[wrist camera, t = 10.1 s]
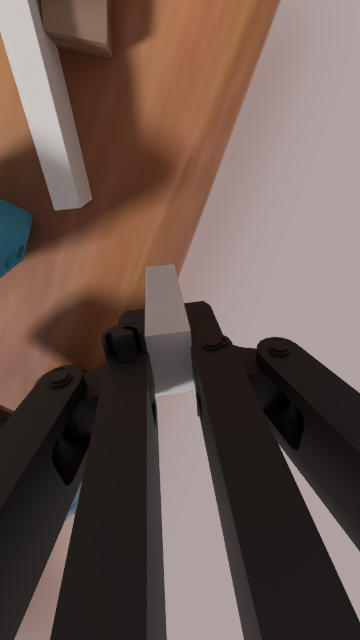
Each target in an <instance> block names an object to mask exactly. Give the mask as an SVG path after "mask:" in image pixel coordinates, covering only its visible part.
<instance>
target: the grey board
mask: <svg viewBox="0 0 360 640" xmlns="http://www.w3.org/2000/svg"><path fill="white" fill-rule="evenodd" d="M0 32H1V35H2V39H3V42H4V45H5V49H6V52H7V55H8V58H9V62H10V65H11V68H12V72H13V75H14V78H15V81H16V85H17V88H18V91H19V95H20V98H21V101H22V105H23V108H24V111H25V114H26V118H27V121H28V124H29V128H30V131H31V134H32V138H33V141H34V144H35V147H36V151H37V154H38V157H39V161H40V164H41V167H42V171H43V174H44V177H45V180H46V184H47V187H48V190H49V194H50V197H51V200H52V204H53V207H54V210H65V209H75V208H81V207H82V206H84V205H85V204H87V203H88V202H89V201H91V200H92V195H91V191H90V187H89V182H88V178H87V174H86V169H85V165H84V161H83V156H82V152H81V148H80V143H79V139H78V135H77V130H76V126H75V122H74V117H73V113H72V109H71V104H70V100H69V96H68V91H67V87H66V83H65V78H64V74H63V70H62V65H61V61H60V57H59V52H58V48H57V47H56V45H55V44H54V43H53V42H52V40H51V39H50V38H49V37H48V35H47V34H46V33H45V32H44V29H43V18H42V7H41V0H0Z"/></svg>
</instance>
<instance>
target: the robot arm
mask: <svg viewBox="0 0 360 640" xmlns="http://www.w3.org/2000/svg"><path fill="white" fill-rule="evenodd" d="M101 341H102V344H103V348H104V351H105V355H106V358H107V359H106V363H105V364H103V365H102V366H100V367H97V368H95V369H92V370H90V371H87V372H84V371H82V369H80V368H79V367H78V366H74V365H65V366H61V367H58V368H55V369H53V370H51V371H49V372H48V373H46V374H44V375H43V376H42V377H40V378H39V379H38V380H37V382H36V383H35V385H34V387H33V389H32V390H31V391H30V393H29V394H28V395H27V396H26V398H25V399H24V400H23V401H22V403H21V404H20V405H19V406H18V408H17V409H16V410H15V411H12V410H10V409H8V408H6V407H4V406H2V405H0V640H14V638H15V636H16V634H17V631H18V629H19V626H20V624H21V622H22V620H23V617H24V615H25V612H26V610H27V608H28V606H29V603H30V601H31V599H32V596H33V594H34V592H35V589H36V587H37V585H38V582H39V580H40V578H41V575H42V573H43V570H44V568H45V566H46V564H47V561H48V559H49V557H50V554H51V552H52V550H53V547H54V545H55V542H56V540H57V538H58V535H59V533H60V531H61V529H62V526H63V524H64V521H65V520H67V519H68V518H69V517H70V516H71V515H72V514H73V513H74V512H75V510H76V513H75V518H74V523H73V528H72V534H71V538H70V543H69V548H68V553H67V558H66V563H65V568H64V573H63V578H62V583H61V588H60V593H59V598H58V603H57V608H56V613H55V618H54V623H53V628H52V633H51V638H50V640H167V637H166V613H165V589H164V567H163V543H162V518H161V495H160V470H159V446H158V422H157V406H156V400H155V395H156V396H163V395H169V394H177V393H184V392H192V391H195V389H196V398H197V412H198V416H200V421H201V426H202V430H203V436H204V441H205V446H206V450H207V456H208V461H209V466H210V471H211V476H212V481H213V485H214V491H215V496H216V501H217V506H218V511H219V516H220V521H221V526H222V530H223V536H224V541H225V546H226V551H227V556H228V561H229V566H230V571H231V576H232V581H233V586H234V591H235V596H236V601H237V606H238V611H239V616H240V621H241V626H242V631H243V636H244V640H360V622H359V619H358V617H357V615H356V613H355V611H354V608H353V606H352V604H351V602H350V600H349V598H348V595H347V593H346V591H345V589H344V587H343V585H342V582H341V580H340V578H339V576H338V573H337V571H336V569H335V567H334V565H333V563H332V560H331V558H330V556H329V554H328V552H327V549H326V547H325V545H324V543H323V541H322V538H321V536H320V534H319V532H318V530H317V528H316V525H315V523H314V521H313V519H312V517H311V515H310V512H309V510H308V508H307V506H306V504H305V501H304V499H303V497H302V495H301V493H300V491H299V488H298V486H297V484H296V482H295V480H294V477H293V475H292V473H291V471H290V469H289V466H288V464H287V462H286V460H285V458H284V456H283V453H282V451H281V449H280V447H279V445H280V446H281V448H282V449H283V450H284V451H285V453H286V454H287V455H288V457H289V458H290V459H291V461H292V462H293V463H294V465H295V466H296V467H297V468H298V470H299V471H300V473H301V474H302V475H303V477H304V478H305V479H306V481H307V482H308V483H309V484H310V486H311V487H312V488H313V490H314V491H315V493H316V494H317V495H318V497H319V498H320V499H321V501H322V502H323V503H324V505H325V506H326V507H327V508H328V510H329V511H330V513H331V514H332V515H333V516H334V518H335V519H336V520H337V522H338V523H339V524H340V526H341V527H342V528H343V530H344V531H345V532H346V534H347V535H348V536H349V538H350V539H351V540H352V542H353V543H354V544H355V546H356V547H357V548H358V550H359V551H360V393H358V392H357V391H356V390H355V389H354V388H352V387H351V386H350V385H348V384H347V383H346V382H344V381H343V380H342V379H341V378H339V377H338V376H337V375H336V374H334V373H333V372H332V371H331V370H329V369H328V368H327V367H325V366H324V365H323V364H321V363H320V362H319V361H318V360H316V359H315V358H314V357H312V356H311V355H310V354H309V353H307V352H306V351H305V350H304V349H302V348H301V347H300V346H298V345H297V344H296V343H294V342H292V341H291V340H288V339H285V338H279V337H271V338H266V339H264V340H261V341H260V342H259V344H258V345H257V349H254V348H243V347H238V346H235V345H233V344H232V342H231V340H230V339H229V338H228V337H226V336H224V335H223V334H222V332H221V329H220V327H219V324H218V322H217V320H216V318H215V315H214V313H213V311H212V308H211V306H210V305H209V304H207V303H206V302H204V301H199V302H192V303H184V302H183V298H182V294H181V291H180V287H179V282H178V278H177V275H176V271H175V267H174V264H169V265H161V266H152V267H146V285H145V309H141V310H133V311H125V313H124V314H123V315H122V316H121V317H120V319H119V325H118V326H114V327H112V328H110V329H108V330H107V331H106V332H104V333H103V335H102V337H101Z"/></svg>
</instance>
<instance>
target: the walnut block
mask: <svg viewBox="0 0 360 640" xmlns="http://www.w3.org/2000/svg"><path fill="white" fill-rule="evenodd" d="M41 7H42V18H43V29H44V32H45V33H46V34H47V35H48V37H49V38H50V39H51V40H52V42H53V43H54V44H55V45H56V47H57V48H60V49H65V50H70V51H75V52H80V53H85V54H90V55H95V56H100V57H105V58H110V59H112V0H41Z"/></svg>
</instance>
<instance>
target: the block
mask: <svg viewBox="0 0 360 640" xmlns="http://www.w3.org/2000/svg"><path fill="white" fill-rule="evenodd" d="M32 222H33V217H32V215H31V213H30V212H28V211H26V210H24V209H22V208H20V207H17V206H15V205H13V204H11V203H9V202H6V201H4V200H2V199H0V278H1V277H2V276H3V275H5V274H6V273H7V272H8V271H10V270H11V269H12V268H13V267H15V266H16V265H17V264H18V263H20V262H21V261H22V260H23V258H24V254H25V250H26V246H27V242H28V238H29V234H30V230H31V226H32Z"/></svg>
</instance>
